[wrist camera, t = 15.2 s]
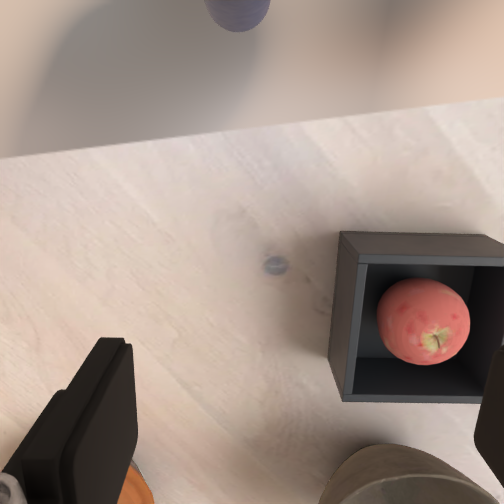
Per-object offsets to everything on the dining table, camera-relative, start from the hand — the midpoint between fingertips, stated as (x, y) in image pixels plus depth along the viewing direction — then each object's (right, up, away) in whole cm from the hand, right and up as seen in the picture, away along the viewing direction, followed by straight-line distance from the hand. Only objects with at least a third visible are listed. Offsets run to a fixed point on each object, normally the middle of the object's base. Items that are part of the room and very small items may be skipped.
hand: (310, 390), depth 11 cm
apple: (+13, -1, +30) cm, 33 cm away
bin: (+13, -1, +30) cm, 33 cm away
